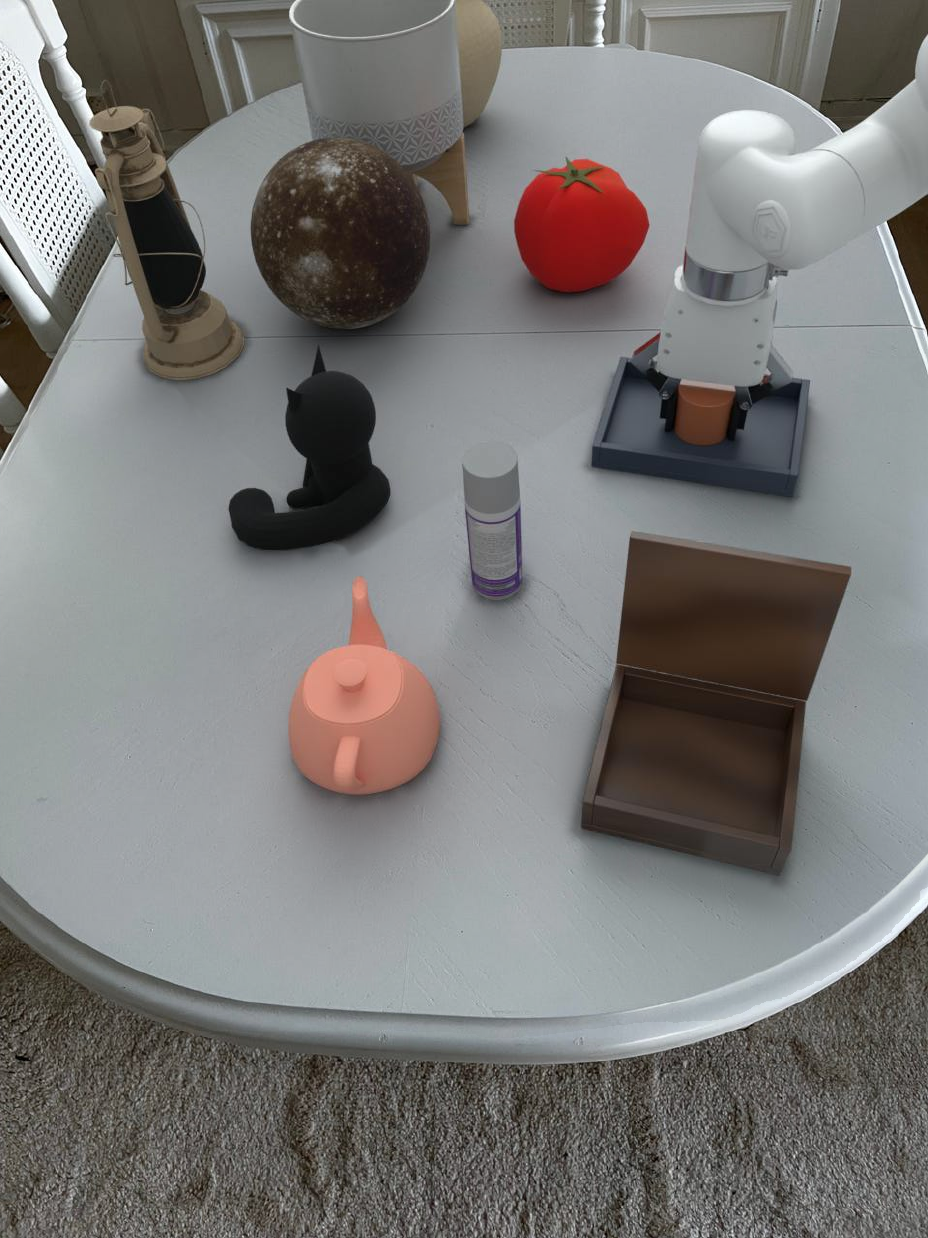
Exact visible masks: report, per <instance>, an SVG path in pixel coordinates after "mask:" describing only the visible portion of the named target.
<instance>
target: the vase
mask: <svg viewBox="0 0 928 1238" xmlns="http://www.w3.org/2000/svg"><path fill="white" fill-rule="evenodd" d="M455 3H456V18H457V33H458V49H459V64H460V79H461V94H462V109H463V129H464V128H467V127H468V126H470V125H472V124H473V123H474V122H475V121H477V119H478V118H479V117H480V116H481V115H482V113H483V112H484V111H485V108H486V107H487V104H488V103H489V100H490V98H491V95H492V93H493V90H494V87H495V85H496V81H497V79H498V75H499V71H500V66H501V62H502V61H501V60H502V54H503V53H502V51H503V37H502V32H501V27H500V24H499V21H498V19H497V17H496V15H495V14H494V12H493V11H492V9H491V8H490V7H489V6H488V5H487V4H486V3H485V2H483V1H482V0H455Z"/></svg>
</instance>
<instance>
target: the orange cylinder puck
mask: <svg viewBox="0 0 928 1238" xmlns="http://www.w3.org/2000/svg"><path fill="white" fill-rule="evenodd" d="M735 397H736V391H735V388H734V386H732V385H723V384H715V383H707V382H699V381H691V380H684V379H682V380H681V381H680V383H679V385H678V393H677V400H676V408H675V416H674V424H673V428H674V431H675V433H676V435H677V436H678V437H679V438H680V439H682V440H683V441H685V442H687V443H690V444H694V445H701V446H705V445H712V444H716V443H718V442H720V441H722V440H723V439H724V438H725V437H726V436H727V435H728V433H729V428H730V423H731V417H732V412H733V407H734V402H735Z"/></svg>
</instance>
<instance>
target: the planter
mask: <svg viewBox="0 0 928 1238" xmlns="http://www.w3.org/2000/svg"><path fill="white" fill-rule="evenodd" d="M288 16H289V17H288V18H289V23H290V28H291V33H292V39H293V45H294V49H295V56H296V60H297V65H298V70H299V71H298V72H299V74H300V81H301V82H300V83H301V87H302V92H303V97H304V103H305V108H306V113H307V119H308V124H309V129H310V134H311V135H310V136H311V141H314V140H318V139H322V138H332V137H342V138H351V139H355V140H359V141H363V142H366V143H368V144H371V145H373V146H375V147H377V148H379V149H380V150H382V151H384V152H385V153H387V154H388V155H390V156H391V157H392V158H393V159H395V160H396V161H397V162H398V163H399V164H400V165H401V166H402V167H403V168H404V169H405V170H406V172H407V173H408V174H409V175H410V177H411V178H412V180H413V181H414V183H415V184H416V186H417V187H418V186H419V179H418V178H422V179H424V180H425V181H427V182H428V183H429V184H430V185H432V186H433V187H434V188H435V189H436V190H437V191H438V192H439V193H440V194H441V195H442V196H443V198H444V200H445V201H446V203H447V205H448V208H449V210H450V212H451V215H452V219H453V224H454V225H458V226H459V225H463V226H467V225H469V223H470V208H469V207H470V205H469V204H470V203H469V187H468V176H467V175H468V174H467V173H468V172H467V161H466V160H467V159H466V147H465V146H466V145H465V133H464V132H463V131H464V128H463V109H462V94H461V79H460V64H459V49H458V33H457V18H456V3H455V0H295V1H294V2H293V3H292V4H291V6H290V8H289V12H288Z"/></svg>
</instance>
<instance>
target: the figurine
mask: <svg viewBox="0 0 928 1238" xmlns="http://www.w3.org/2000/svg"><path fill="white" fill-rule="evenodd" d="M285 390H286V397H287V405H286V409H285V416H284V421H285V429H286V433H287V436H288V439H289V441H290V443H291V445H292V447H294V449H295V450H296V451H297V453H299V454H300V455H301V456H302V457H303V458H305V467H304V473H303V480H302V487H300V488H296V489H293V490H290V491H289V492H288V493H287V495H286V500H285V501H286V503H287V505H288V506H289V508H291V509H294V511H286V512H276V509H275V505H274V501H273V499H272V496H270V495H269V493H267V492H266V491H265V490H264V489H261V488H257V487H246V488H244V489H241V490H239V491H237V492H236V493H234V494H233V496H232V497H231V498H230V499H229V504H228V509H227V510H228V513H229V514H228V515H229V519H230V523H231V528H232V530H233V532H234V533H235V536H236V538H237V539H238V541H240V542H242V543H243V544H245V545H246V546H248V548H249V547H250V548H252V549H256V550H260V551H266V552H267V551H269V552H278V551H280V552H281V551H293V550H299V549H301V550H302V549H308V548H313V547H318V546H321V545H326V544H330V543H333V542H337V541H339V540H343V539H344V538H347V537H349V536H351V535H353V534H355V533H356V532H358V531H359V530H361V529H362V528H364V527H365V526H367V525H368V524H369V523H371V521H373V520H374V519H375V518H376V517H377V516H378V515H379V514H380V513H381V512H382V511H383V509H384V508H385V506H386V505H387V504H388V503H389V500H390V498H391V485H390V484H391V483H390V480H389V478H388V477H387V476H386V474H385V473H384V472H383V470H381V468H379V467H378V466H377V465H374V464H373V458H372V452H371V448H370V441H371V440H372V438H373V435H374V432H375V427H376V422H377V411H376V406H375V402H374V399H373V397H372V395H371V393H370V391H369V390H368V388H367V387H366V386H365V385H364V383H363V382H362V381H361V380H359V379H357V378H356V377H355V376H353V375H351V374H349V373H346V372H343V371H338V370H337V371H336V370H327V369H326V365H325V363H324V358H323V355H322V352H321V349H320V345H319V344H317V349H316V354H315V359H314V362H313V367H312V372H311V375H310V376H309V377H307V378H305V379H304V380H303V381H301V383H299V384H298V386H297V387H296V388H295V389H294V390H293V389H291V388H288V387H285ZM319 504H323V505H319ZM316 505H319V506H316ZM311 506H312V507H311ZM313 506H316V507H313ZM307 507H311V508H307ZM304 508H306V509H304ZM300 509H302V510H300Z"/></svg>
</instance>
